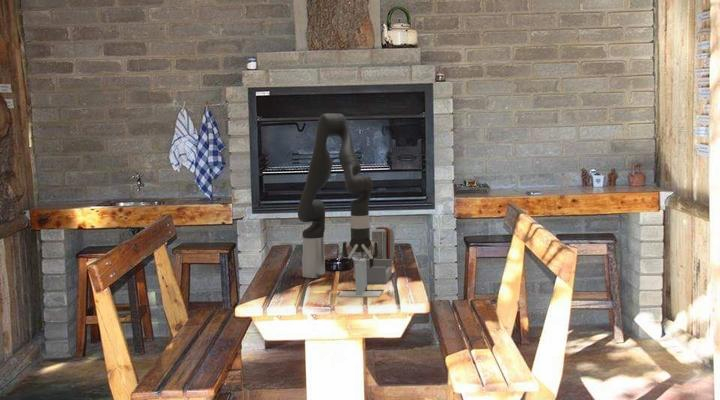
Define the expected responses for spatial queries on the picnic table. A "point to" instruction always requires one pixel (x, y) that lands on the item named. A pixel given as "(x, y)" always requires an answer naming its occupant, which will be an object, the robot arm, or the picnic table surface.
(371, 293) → the mat
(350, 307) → the picnic table surface
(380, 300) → the picnic table surface
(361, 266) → the grey flat slab
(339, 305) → the picnic table surface
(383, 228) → the decorative stone tablet
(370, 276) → the rack
